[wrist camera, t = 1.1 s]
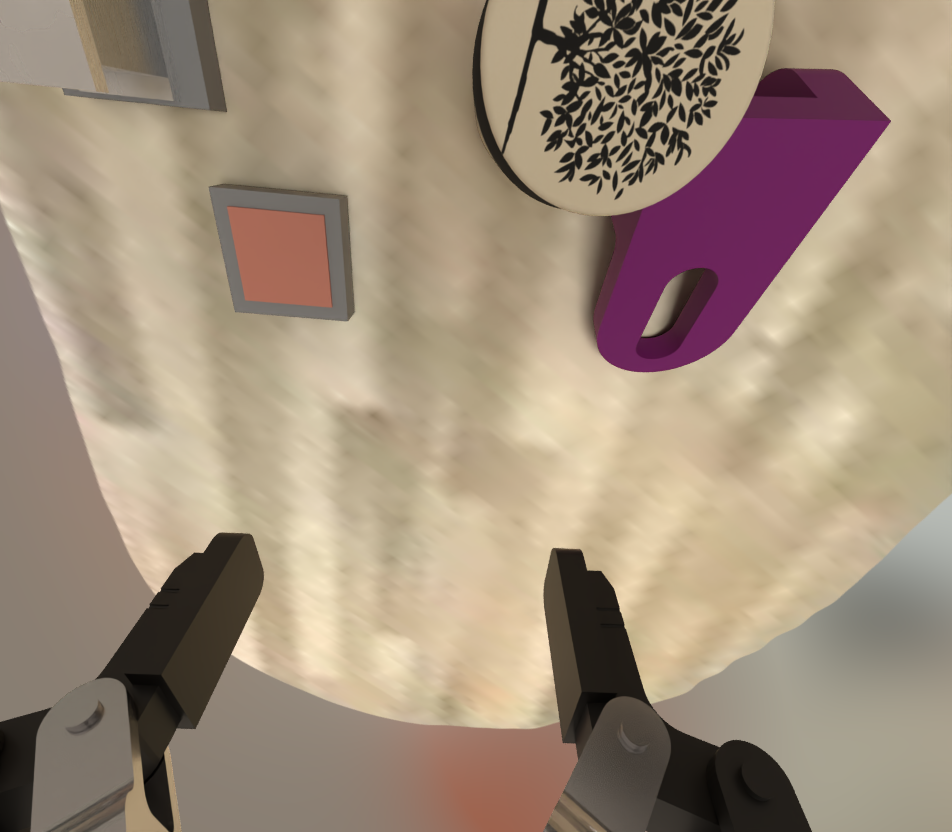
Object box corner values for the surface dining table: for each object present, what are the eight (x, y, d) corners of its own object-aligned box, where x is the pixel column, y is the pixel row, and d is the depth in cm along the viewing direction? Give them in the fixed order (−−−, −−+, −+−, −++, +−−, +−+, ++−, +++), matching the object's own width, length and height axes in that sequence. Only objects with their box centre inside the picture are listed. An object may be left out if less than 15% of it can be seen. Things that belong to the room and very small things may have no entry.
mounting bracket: (678, 297, 39) (815, 43, 24) (703, 373, 34) (892, 121, 19) (571, 295, 39) (640, 38, 24) (583, 370, 34) (676, 115, 19)
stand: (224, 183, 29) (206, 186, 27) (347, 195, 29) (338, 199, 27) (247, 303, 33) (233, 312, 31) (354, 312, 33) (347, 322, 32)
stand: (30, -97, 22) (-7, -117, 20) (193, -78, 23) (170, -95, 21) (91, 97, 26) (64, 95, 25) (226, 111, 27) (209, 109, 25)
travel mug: (633, 61, 25) (865, -53, 10) (565, 200, 29) (659, 267, 14) (510, -14, 24) (568, -284, 9) (454, 144, 28) (427, 152, 12)
